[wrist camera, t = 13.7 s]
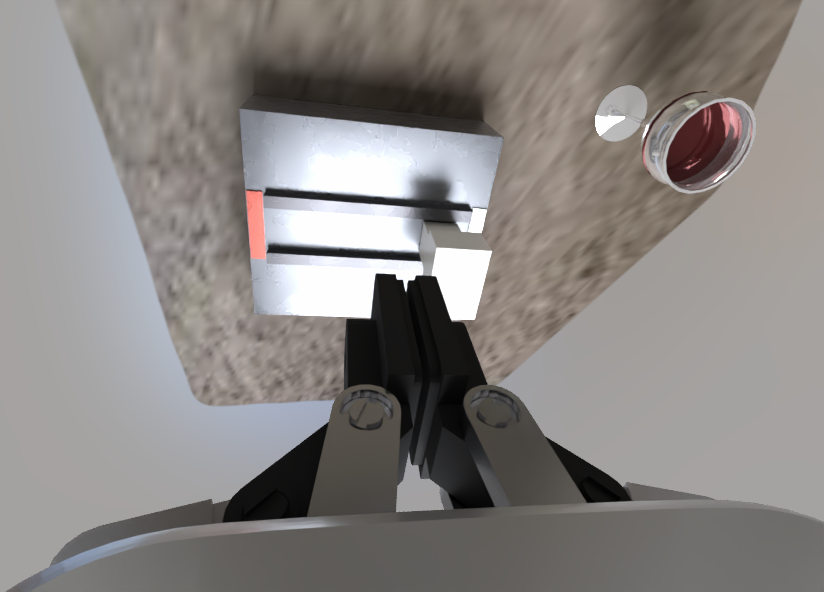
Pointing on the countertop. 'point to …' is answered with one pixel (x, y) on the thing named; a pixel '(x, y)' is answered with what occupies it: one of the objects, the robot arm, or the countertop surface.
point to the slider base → (352, 197)
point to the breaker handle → (455, 265)
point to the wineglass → (682, 135)
